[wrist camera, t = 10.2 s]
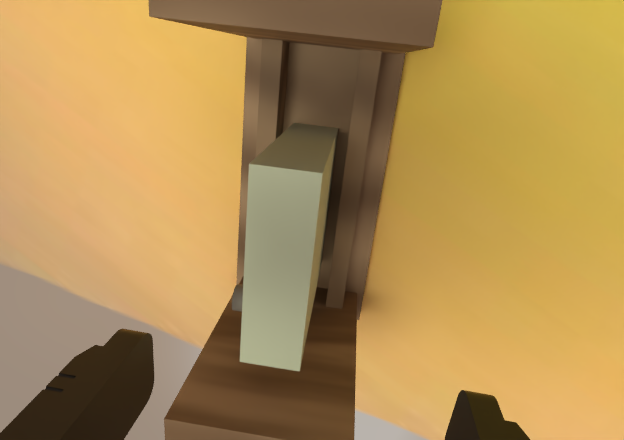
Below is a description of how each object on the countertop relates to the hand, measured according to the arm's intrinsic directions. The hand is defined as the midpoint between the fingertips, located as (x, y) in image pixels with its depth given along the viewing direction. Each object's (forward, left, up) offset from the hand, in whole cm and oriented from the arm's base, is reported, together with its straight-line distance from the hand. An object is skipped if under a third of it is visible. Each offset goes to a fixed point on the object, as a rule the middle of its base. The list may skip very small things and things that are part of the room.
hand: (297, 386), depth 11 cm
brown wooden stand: (0, -2, -21) cm, 21 cm away
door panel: (+1, -2, -20) cm, 20 cm away
